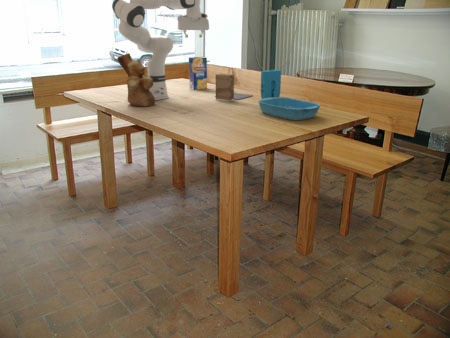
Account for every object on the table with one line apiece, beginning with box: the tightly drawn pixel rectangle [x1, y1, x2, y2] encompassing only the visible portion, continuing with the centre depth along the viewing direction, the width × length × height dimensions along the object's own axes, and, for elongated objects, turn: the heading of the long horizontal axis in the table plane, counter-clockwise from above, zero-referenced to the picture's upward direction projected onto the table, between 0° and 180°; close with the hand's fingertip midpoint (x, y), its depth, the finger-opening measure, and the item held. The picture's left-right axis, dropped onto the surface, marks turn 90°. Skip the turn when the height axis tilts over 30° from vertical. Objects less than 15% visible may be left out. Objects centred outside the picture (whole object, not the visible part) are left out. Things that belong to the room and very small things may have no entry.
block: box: [260, 69, 282, 100], centre depth 272 cm, size 12×5×20 cm, turn 120°
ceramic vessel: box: [116, 53, 156, 107], centre depth 269 cm, size 16×22×30 cm
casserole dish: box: [258, 96, 321, 121], centre depth 247 cm, size 37×22×7 cm, turn 37°
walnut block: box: [215, 73, 235, 103], centre depth 285 cm, size 6×10×16 cm, turn 53°
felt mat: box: [214, 92, 254, 101], centre depth 298 cm, size 18×18×1 cm
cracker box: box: [188, 56, 208, 91], centre depth 326 cm, size 7×11×22 cm, turn 122°
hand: (193, 37), depth 292 cm, fingers open, 8 cm apart
